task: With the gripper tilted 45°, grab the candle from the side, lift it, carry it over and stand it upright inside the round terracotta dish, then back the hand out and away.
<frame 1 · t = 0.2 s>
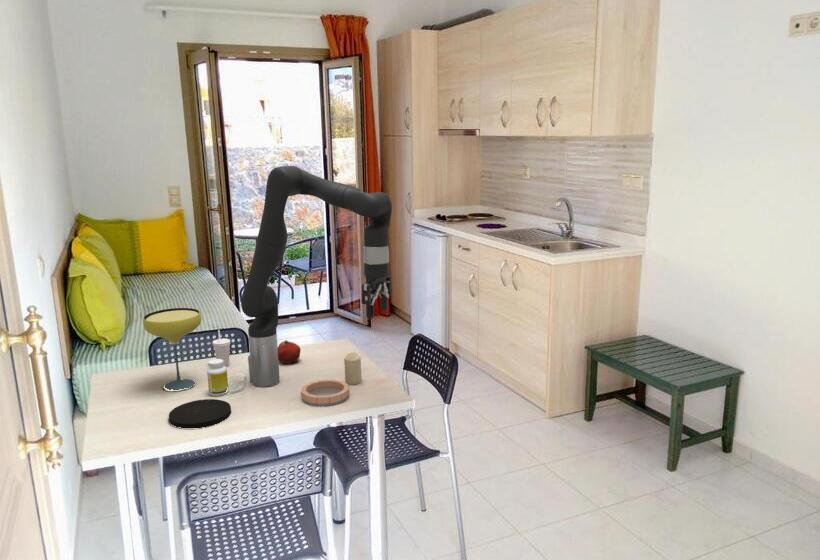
hand: (377, 313, 193), 29 cm above the table, tool pointing down, fingers open, 8 cm apart
dish: (325, 396, 205), on the table
wireless charger: (200, 417, 193), on the table
candle: (353, 382, 218), on the table
smoothie: (223, 366, 235), on the table
tomato: (288, 362, 239), on the table
cocktail glass: (179, 386, 217), on the table
pill bottle: (219, 393, 210), on the table
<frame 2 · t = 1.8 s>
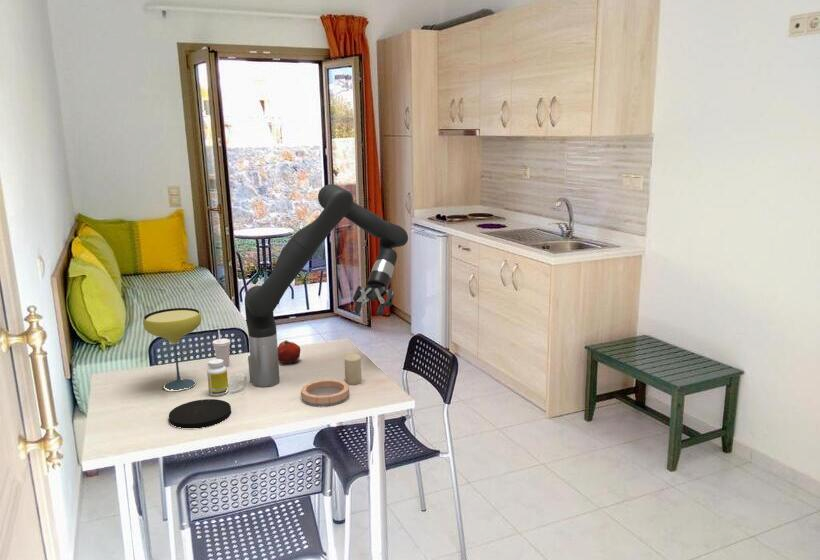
hand: (367, 314, 223), 21 cm above the table, tool tilted 45°, fingers open, 8 cm apart
nothing on the table moved.
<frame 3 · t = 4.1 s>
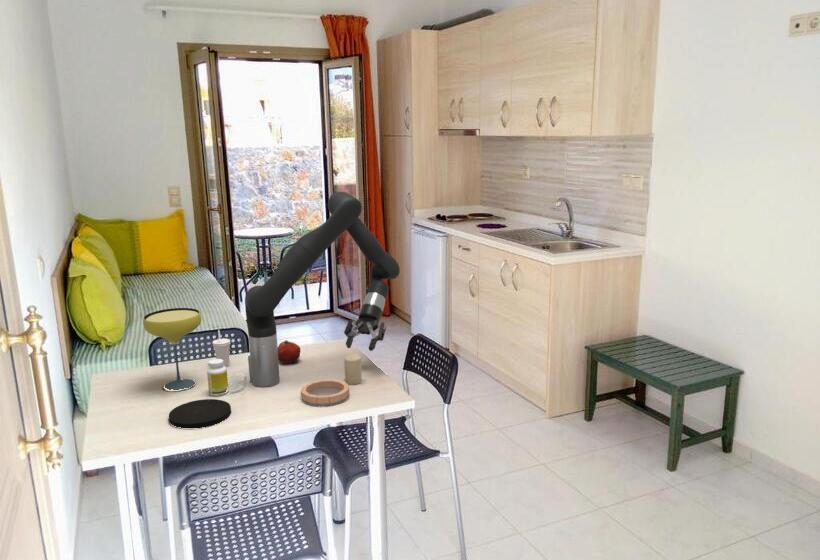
hand: (359, 348, 220), 10 cm above the table, tool tilted 45°, fingers open, 8 cm apart
nothing on the table moved.
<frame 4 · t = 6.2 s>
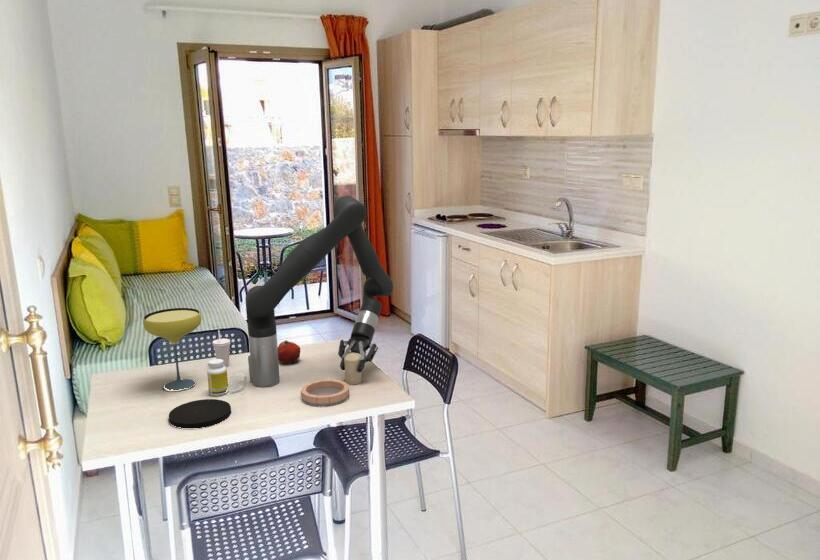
hand: (350, 370, 215), 5 cm above the table, tool tilted 45°, fingers closed on candle, 5 cm apart
candle: (353, 382, 218), on the table, touching gripper
everything else where it was.
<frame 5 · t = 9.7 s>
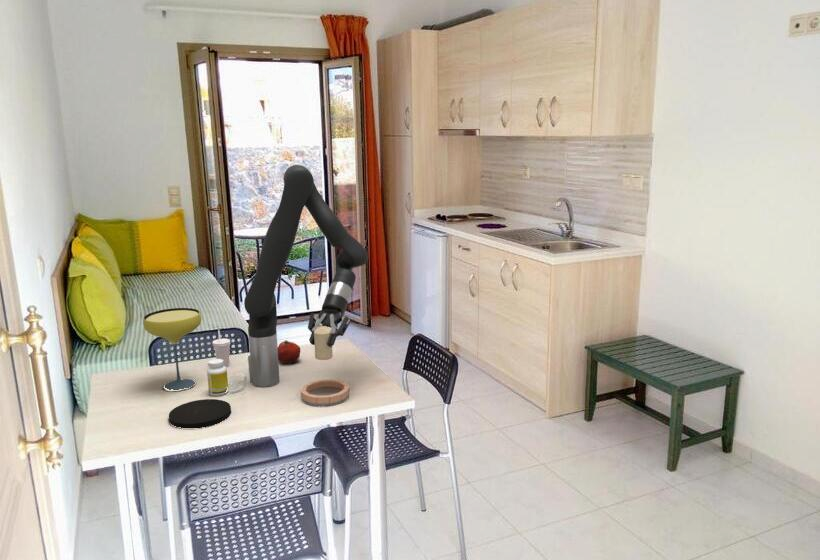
hand: (320, 344, 200), 18 cm above the table, tool tilted 45°, fingers closed on candle, 5 cm apart
candle: (324, 357, 203), point 13 cm above the table, touching gripper
everything else where it was.
when the fingers open (7 cm above the table, at t = 13.3 s): candle drops 1 cm, resting on dish.
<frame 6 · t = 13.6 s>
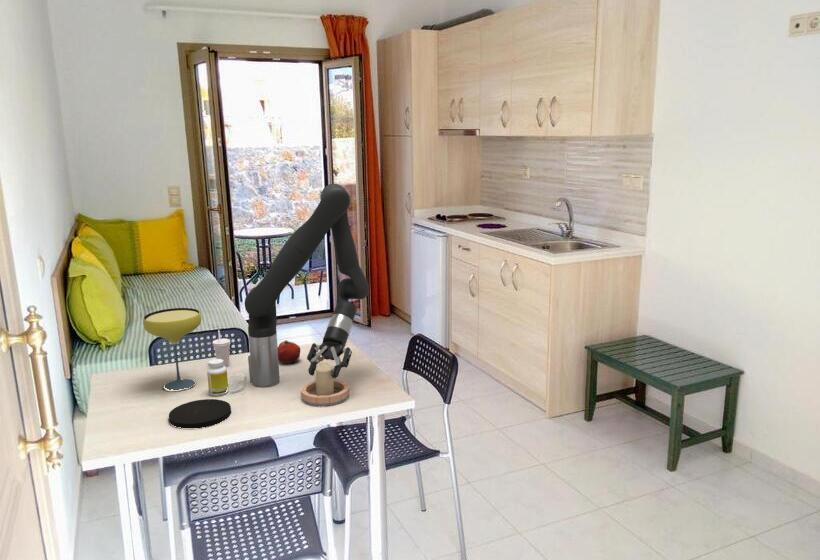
hand: (322, 376, 202), 8 cm above the table, tool tilted 45°, fingers open, 8 cm apart
candle: (325, 394, 205), point 1 cm above the table, touching dish
everything else where it was.
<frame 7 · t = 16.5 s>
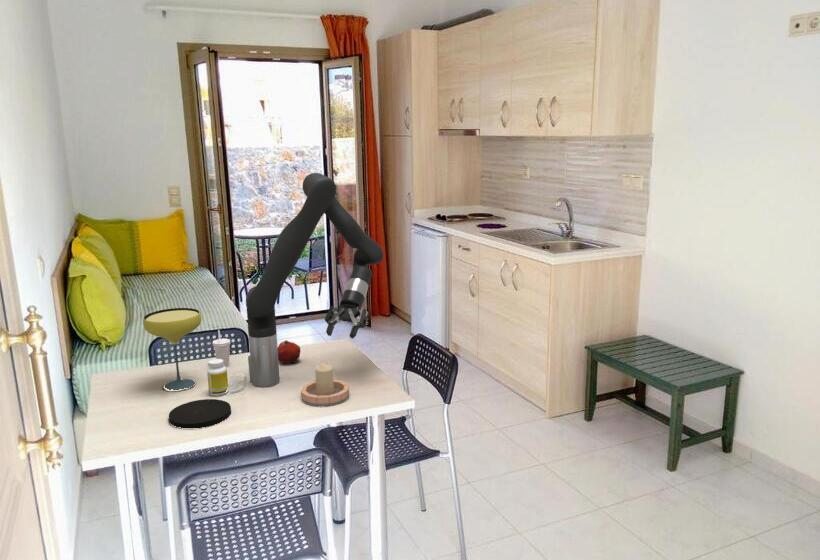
hand: (339, 336, 211), 17 cm above the table, tool tilted 45°, fingers open, 8 cm apart
nothing on the table moved.
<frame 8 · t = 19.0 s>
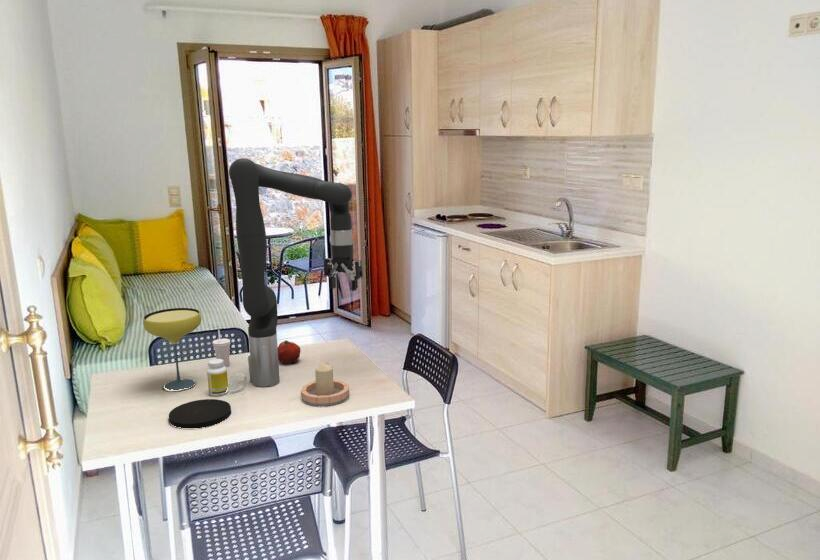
hand: (343, 289, 220), 30 cm above the table, tool pointing down, fingers open, 8 cm apart
nothing on the table moved.
at the end: candle inside the target area on the dish (0.2 cm from its centre), point 0.8 cm above the dish's base; candle tilted 0°; the gripper is holding nothing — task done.
